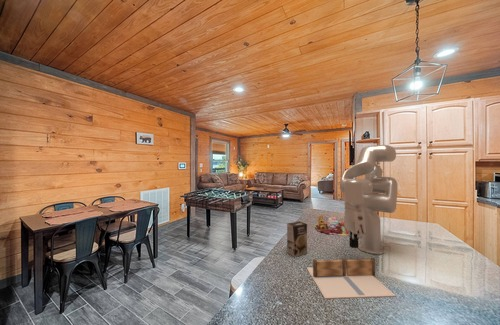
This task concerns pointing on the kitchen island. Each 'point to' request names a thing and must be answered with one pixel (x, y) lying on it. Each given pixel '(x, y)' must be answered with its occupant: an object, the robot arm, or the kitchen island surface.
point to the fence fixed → (329, 268)
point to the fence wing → (360, 267)
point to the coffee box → (297, 238)
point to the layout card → (350, 286)
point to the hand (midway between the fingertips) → (353, 247)
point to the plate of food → (335, 225)
